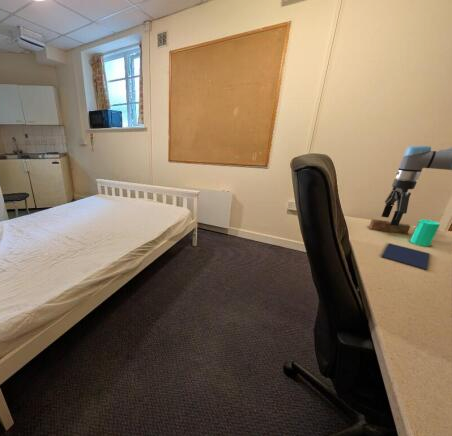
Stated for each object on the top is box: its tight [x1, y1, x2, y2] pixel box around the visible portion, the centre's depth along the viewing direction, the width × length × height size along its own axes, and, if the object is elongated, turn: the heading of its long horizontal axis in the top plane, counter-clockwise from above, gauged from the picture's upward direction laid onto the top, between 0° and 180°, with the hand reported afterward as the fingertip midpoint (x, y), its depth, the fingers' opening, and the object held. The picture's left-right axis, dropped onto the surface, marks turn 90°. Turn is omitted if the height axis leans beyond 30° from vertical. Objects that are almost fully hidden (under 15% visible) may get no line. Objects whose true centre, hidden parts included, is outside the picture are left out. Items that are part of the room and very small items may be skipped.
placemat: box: [381, 243, 430, 271], centre depth 90 cm, size 18×12×1 cm, turn 129°
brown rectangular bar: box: [368, 218, 411, 235], centre depth 113 cm, size 14×4×4 cm, turn 60°
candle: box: [410, 218, 441, 247], centre depth 98 cm, size 6×6×12 cm
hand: (389, 221), depth 112 cm, fingers open, 13 cm apart
